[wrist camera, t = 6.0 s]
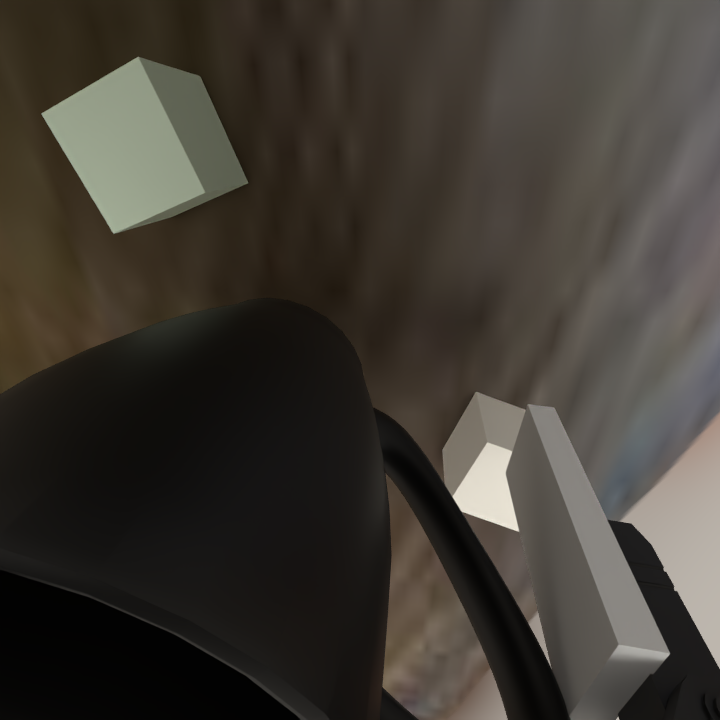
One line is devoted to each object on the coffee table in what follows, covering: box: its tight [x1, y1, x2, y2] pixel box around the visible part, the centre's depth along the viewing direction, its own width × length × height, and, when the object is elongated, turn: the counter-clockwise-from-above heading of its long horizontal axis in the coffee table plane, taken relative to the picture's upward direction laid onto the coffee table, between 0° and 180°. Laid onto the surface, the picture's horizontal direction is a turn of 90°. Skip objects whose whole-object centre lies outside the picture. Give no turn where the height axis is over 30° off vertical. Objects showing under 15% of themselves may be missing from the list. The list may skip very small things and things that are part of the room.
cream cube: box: [442, 392, 526, 531], centre depth 25 cm, size 5×5×5 cm
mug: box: [0, 298, 571, 720], centre depth 10 cm, size 8×12×10 cm
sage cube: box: [42, 57, 248, 234], centre depth 19 cm, size 5×5×5 cm
